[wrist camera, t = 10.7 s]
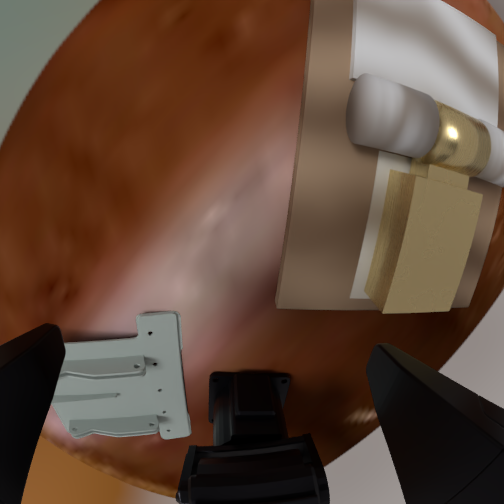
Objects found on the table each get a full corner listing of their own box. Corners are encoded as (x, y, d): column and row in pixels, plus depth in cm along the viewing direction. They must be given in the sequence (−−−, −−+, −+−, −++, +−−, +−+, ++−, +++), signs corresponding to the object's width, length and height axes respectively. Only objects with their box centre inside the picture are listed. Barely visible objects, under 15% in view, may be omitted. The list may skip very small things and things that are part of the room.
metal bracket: (67, 458, 20) (1, 338, 14) (69, 415, 25) (22, 297, 19) (207, 445, 25) (199, 323, 20) (193, 404, 30) (184, 284, 25)
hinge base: (462, 301, 23) (493, 330, 18) (274, 301, 21) (287, 345, 16) (500, 50, 15) (539, 45, 10) (313, -36, 13) (335, -73, 8)
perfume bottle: (428, 291, 21) (456, 318, 17) (363, 291, 20) (389, 322, 16) (463, 122, 16) (502, 124, 12) (398, 96, 15) (436, 91, 12)
